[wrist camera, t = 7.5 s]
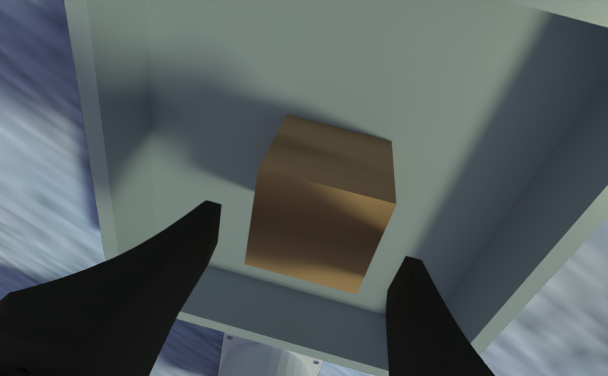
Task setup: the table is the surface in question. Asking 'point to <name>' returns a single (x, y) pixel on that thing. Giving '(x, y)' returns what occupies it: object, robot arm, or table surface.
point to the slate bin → (360, 118)
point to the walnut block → (321, 203)
